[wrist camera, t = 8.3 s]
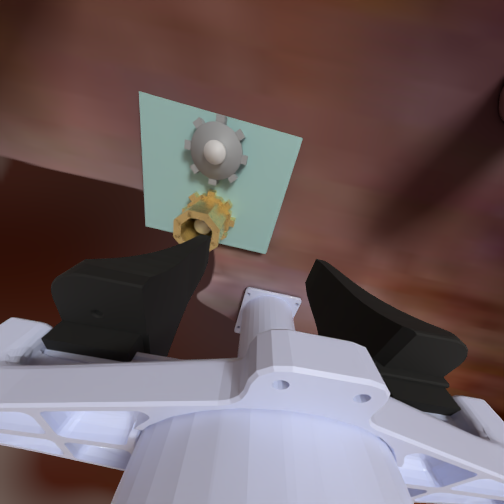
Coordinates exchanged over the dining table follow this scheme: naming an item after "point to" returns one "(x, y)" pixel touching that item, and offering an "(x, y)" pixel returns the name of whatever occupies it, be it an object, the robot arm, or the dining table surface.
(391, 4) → the dining table surface
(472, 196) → the dining table surface
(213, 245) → the planet gear
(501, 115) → the beer glass
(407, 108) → the dining table surface
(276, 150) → the carrier plate
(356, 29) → the dining table surface
